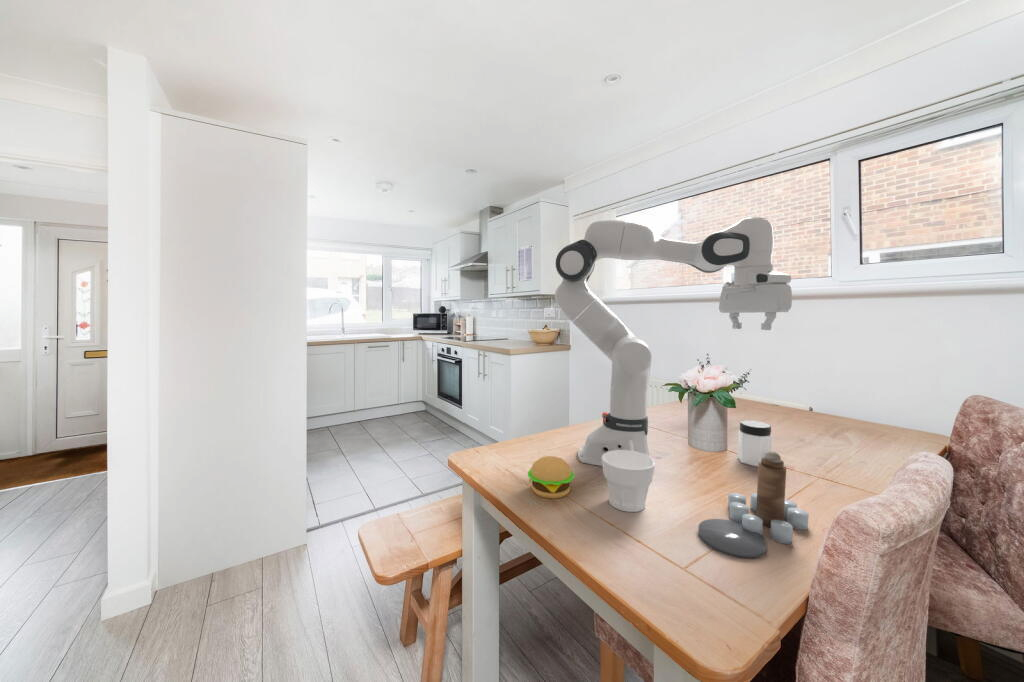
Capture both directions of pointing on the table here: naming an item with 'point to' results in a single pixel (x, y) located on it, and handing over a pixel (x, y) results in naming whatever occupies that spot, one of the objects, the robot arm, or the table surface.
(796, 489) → the table surface
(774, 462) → the pepper mill
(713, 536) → the disc
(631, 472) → the cup
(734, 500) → the tealight cups
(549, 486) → the hamburger
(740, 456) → the jar
